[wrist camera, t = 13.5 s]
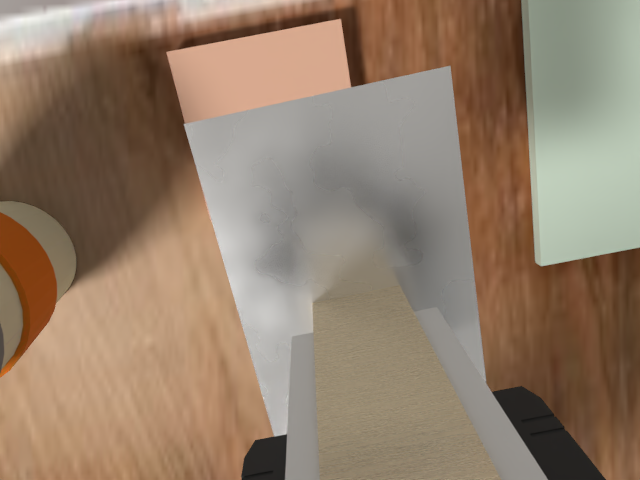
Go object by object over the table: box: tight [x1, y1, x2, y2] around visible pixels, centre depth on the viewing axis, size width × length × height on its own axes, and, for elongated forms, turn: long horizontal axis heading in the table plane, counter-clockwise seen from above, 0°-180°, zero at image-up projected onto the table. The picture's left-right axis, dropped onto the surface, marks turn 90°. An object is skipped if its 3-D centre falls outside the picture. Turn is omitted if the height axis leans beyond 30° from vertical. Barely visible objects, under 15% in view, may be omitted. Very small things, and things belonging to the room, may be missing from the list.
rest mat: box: [521, 0, 640, 266], centre depth 34 cm, size 20×13×1 cm, turn 11°
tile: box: [167, 19, 351, 221], centre depth 33 cm, size 2×12×12 cm
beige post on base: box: [184, 66, 501, 480], centre depth 12 cm, size 16×8×10 cm, turn 12°
